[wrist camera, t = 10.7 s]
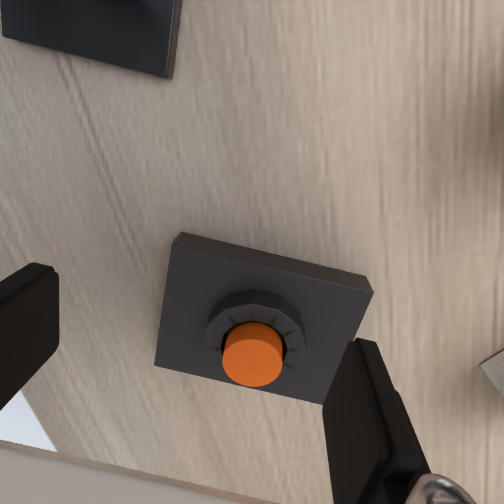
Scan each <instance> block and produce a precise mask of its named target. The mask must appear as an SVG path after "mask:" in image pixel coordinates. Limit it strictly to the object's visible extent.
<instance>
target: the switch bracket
mask: <svg viewBox="0 0 504 504" xmlns="http://www.w3.org/2000/svg"><path fill="white" fill-rule="evenodd" d="M0 1H1V20H2V35H3V37H6V38H10V39H14V40H18V41H22V42H26V43H30V44H34V45H38V46H42V47H46V48H50V49H54V50H58V51H61V52H65V53H69V54H73V55H77V56H81V57H85V58H89V59H93V60H97V61H101V62H105V63H109V64H113V65H117V66H121V67H125V68H129V69H132V70H136V71H140V72H144V73H148V74H152V75H156V76H160V77H164V78H168V79H172V78H173V72H174V64H175V56H176V48H177V39H178V31H179V23H180V15H181V7H182V0H0Z"/></svg>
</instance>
